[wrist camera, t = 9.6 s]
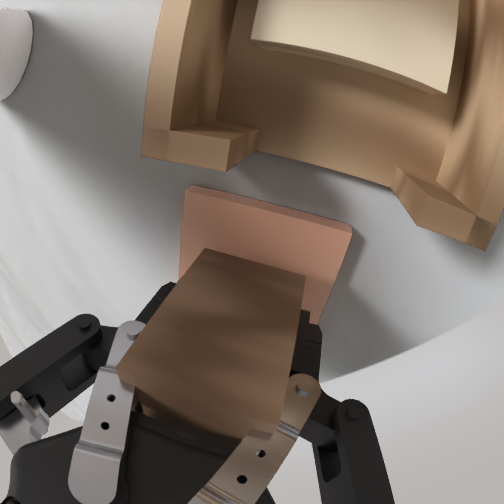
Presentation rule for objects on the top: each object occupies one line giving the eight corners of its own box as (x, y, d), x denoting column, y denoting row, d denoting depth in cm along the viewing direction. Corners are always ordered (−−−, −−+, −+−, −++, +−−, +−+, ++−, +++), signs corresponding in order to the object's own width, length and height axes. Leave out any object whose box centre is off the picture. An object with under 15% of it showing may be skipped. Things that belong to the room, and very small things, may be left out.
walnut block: (305, 275, 12) (278, 424, 6) (281, 346, 15) (248, 471, 9) (205, 247, 13) (115, 366, 7) (197, 320, 15) (136, 431, 9)
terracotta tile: (306, 340, 18) (304, 352, 17) (184, 305, 19) (178, 314, 18) (351, 225, 14) (352, 233, 13) (192, 184, 15) (184, 190, 14)
